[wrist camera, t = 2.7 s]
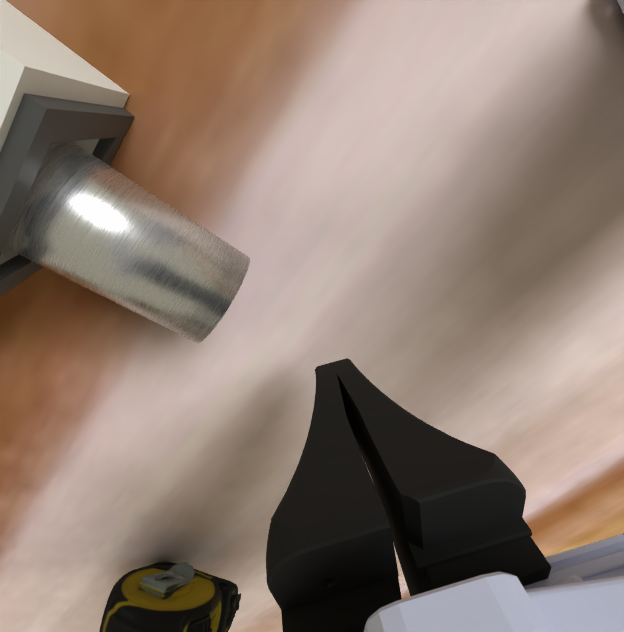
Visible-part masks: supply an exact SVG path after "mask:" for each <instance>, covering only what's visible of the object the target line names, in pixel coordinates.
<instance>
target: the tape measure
mask: <svg viewBox="0 0 624 632" xmlns="http://www.w3.org/2000/svg"><path fill="white" fill-rule="evenodd" d="M240 599H241V593H240V594H239V595H238V587H237V585H236V584H234V583H232V582H231V581H228V580H225V579H222V578H218V577H215V576H212V575H209V574H207V573H204V572H202V571H199V570H196V569H193V567H192V566H191V565H189V564H188V563H179V564H176V563H170V562H161V563H155V564H152V565H149V566H146V567H142V568H139V569H135V570H132V571H130V572H128V573H127V574H125V575H124V576H123V577H122V578H121V579H119V581H118V582H117V583H116V584H115V585H114V587H113V589H112V591H111V593H110V596H109V598H108V601H107V604H106V608H105V611H104V614H103V618H102V622H101V627H100V632H228V630H229V629H230V627H231V624H232V621H233V618H234V617H235V613H236V611H237V610H238V609H239V601H240Z"/></svg>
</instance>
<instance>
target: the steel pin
mask: <svg viewBox="0 0 624 632" xmlns="http://www.w3.org/2000/svg"><path fill="white" fill-rule="evenodd" d="M5 248H7V249H9V250H11V251H13V252H15V253H17V254H19V255H21V256H23V257H25V258H27V259H29V260H31V261H33V262H35V263H37V264H39V265H41V266H43V267H45V268H47V269H49V270H51V271H53V272H55V273H57V274H59V275H61V276H63V277H65V278H67V279H69V280H71V281H73V282H75V283H77V284H79V285H81V286H83V287H85V288H87V289H89V290H91V291H93V292H95V293H97V294H99V295H101V296H103V297H105V298H107V299H109V300H111V301H113V302H115V303H117V304H119V305H121V306H123V307H125V308H127V309H129V310H131V311H133V312H135V313H138V314H140V315H142V316H144V317H146V318H148V319H150V320H152V321H154V322H156V323H158V324H160V325H162V326H164V327H166V328H168V329H170V330H172V331H174V332H176V333H178V334H180V335H182V336H184V337H186V338H188V339H190V340H192V341H194V342H196V343H200V342H201V341H203V340H204V339H205V338H206V337H207V336H208V335H209V334H210V333H211V331H212V330H213V329H214V328H215V326H216V325H217V324H218V322H219V321H220V320H221V318H222V317H223V315H224V314H225V312H226V311H227V309H228V307H229V306H230V304H231V302H232V301H233V299H234V297H235V295H236V294H237V292H238V290H239V288H240V286H241V284H242V282H243V280H244V277H245V275H246V272H247V270H248V266H249V261H250V259H249V257H248V256H247V255H245V254H244V253H242V252H240V251H239V250H237V249H236V248H234V247H233V246H231V245H230V244H228V243H227V242H225V241H224V240H222V239H221V238H219V237H218V236H216V235H215V234H213V233H211V232H210V231H208V230H207V229H205V228H204V227H202V226H201V225H199V224H198V223H196V222H195V221H193V220H192V219H190V218H189V217H187V216H185V215H184V214H182V213H181V212H179V211H178V210H176V209H175V208H173V207H172V206H170V205H169V204H167V203H166V202H164V201H163V200H161V199H160V198H158V197H156V196H155V195H153V194H152V193H150V192H149V191H147V190H146V189H144V188H143V187H141V186H140V185H138V184H137V183H135V182H134V181H132V180H131V179H129V178H127V177H126V176H124V175H123V174H121V173H120V172H118V171H117V170H115V169H114V168H112V167H111V166H109V165H108V164H106V163H105V162H103V161H101V160H100V159H98V158H97V157H95V156H94V155H92V154H91V153H89V152H88V151H86V150H85V149H83V148H82V147H80V146H79V145H77V144H76V143H74V142H72V141H67V142H54V143H51V144H50V146H49V148H48V151H47V153H46V155H45V157H44V160H43V162H42V164H41V166H40V168H39V171H38V173H37V175H36V177H35V180H34V182H33V184H32V186H31V189H30V191H29V193H28V195H27V198H26V200H25V202H24V204H23V206H22V209H21V211H20V213H19V215H18V218H17V220H16V222H15V224H14V227H13V229H12V231H11V233H10V236H9V238H8V240H7V242H6V244H5Z"/></svg>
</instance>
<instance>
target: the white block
mask: <svg viewBox="0 0 624 632" xmlns="http://www.w3.org/2000/svg"><path fill="white" fill-rule="evenodd" d="M129 95H130V94H128V93H127V92H126V91H125V90H123V89H122V88H121V87H119V86H118V85H117V84H115V83H114V82H113V81H111V80H110V79H109V78H107V77H106V76H105V75H103V74H102V73H101V72H99V71H98V70H97V69H95V68H94V67H93V66H91V65H90V64H89V63H87V62H86V61H85V60H84V59H82V58H81V57H80V56H78V55H77V54H76V53H74V52H73V51H72V50H70V49H69V48H68V47H66V46H65V45H64V44H62V43H61V42H60V41H58V40H57V39H56V38H54V37H53V36H52V35H50V34H49V33H48V32H47V31H45V30H44V29H43V28H41V27H40V26H39V25H37V24H36V23H35V22H33V21H32V20H31V19H29V18H28V17H27V16H25V15H24V14H23V13H21V12H20V11H19V10H17V9H16V8H15V7H13V6H12V5H11V4H9V3H8V2H7V1H6V0H0V296H2V295H3V294H5V293H6V292H8V291H9V290H10V289H12V288H13V287H15V286H16V285H18V284H19V283H21V282H22V281H24V280H25V279H27V278H28V277H29V276H31V275H32V274H34V273H35V272H37V271H38V270H40V269H41V268H43V266H41V265H39V264H37V263H35V262H33V261H31V260H29V259H27V258H25V257H23V256H21V255H19V254H17V253H15V252H13V251H11V250H9V249H7V248H5V244H6V242H7V240H8V238H9V236H10V233H11V231H12V229H13V227H14V224H15V222H16V220H17V218H18V215H19V213H20V211H21V209H22V206H23V204H24V202H25V200H26V198H27V195H28V193H29V191H30V189H31V186H32V184H33V182H34V180H35V177H36V175H37V173H38V171H39V168H40V166H41V164H42V162H43V160H44V157H45V155H46V153H47V151H48V148H49V146H50V144H51V143H54V142H67V141H72V142H74V143H76V144H77V145H79V146H80V147H82V148H83V149H85V150H86V151H88V152H89V153H91V154H92V155H94V156H95V157H97V158H98V159H100V160H101V161H103V162H105V163H106V164H108V165H110V163H111V161H112V159H113V157H114V155H115V153H116V152H117V150H118V148H119V146H120V144H121V142H122V140H123V138H124V136H125V134H126V132H127V130H128V128H129V126H130V124H131V122H132V120H133V119H134V117H135V116H133V115H132V114H131V113H129V112H128V111H127V110H125V109H124V108H123V107H124V105H125V103H126V101H127V99H128V97H129Z"/></svg>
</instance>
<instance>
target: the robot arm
mask: <svg viewBox="0 0 624 632" xmlns="http://www.w3.org/2000/svg"><path fill="white" fill-rule="evenodd" d="M617 1H618V3H619V6H620V8H621V10H622V12H623V14H624V0H617ZM315 373H316V394H315V403H314V410H313V415H312V420H311V425H310V429H309V433H308V437H307V440H306V443H305V447H304V450H303V452H302V455H301V458H300V461H299V464H298V466H297V469H296V471H295V473H294V475H293V478H292V480H291V482H290V484H289V487H288V489H287V491H286V493H285V495H284V497H283V499H282V500H281V502H280V504H279V506H278V508H277V510H276V511H275V513H274V515H273V517H272V519H271V524H270V529H269V535H268V541H267V552H266V572H267V584H268V588H269V590H270V592H271V593H272V595H273V597H274V598H275V600H276V602H277V603H278V605H279V607H280V608H281V611H282V625H283V632H624V533H623V534H620V535H617V536H614V537H610V538H607V539H604V540H601V541H597V542H594V543H591V544H587V545H584V546H581V547H578V548H574V549H571V550H568V551H565V552H561V553H558V554H555V555H551V556H548V557H544V555H543V554H542V553H541V551H540V550H539V548H538V547H537V545H536V544H535V542H534V541H533V540H532V538H531V537H530V536H532V532H531V529H530V528H529V527H528V525H527V524H526V522H525V521H524V520H523V518H522V515H523V510H524V504H525V499H526V490H525V488H524V487H523V485H522V483H521V482H520V481H519V479H518V478H517V477H516V476H515V474H514V473H513V472H512V471H511V470H510V469H509V468H508V467H507V466H506V465H505V464H504V463H503V462H502V461H501V460H500V459H499V458H498V457H497V456H496V455H495V454H494V453H491V452H488V451H486V450H483V449H480V448H478V447H475V446H472V445H470V444H467V443H465V442H462V441H460V440H458V439H456V438H454V437H451V436H449V435H447V434H446V433H444V432H442V431H440V430H438V429H436V428H434V427H432V426H430V425H428V424H427V423H425V422H423V421H422V420H420V419H418V418H417V417H415V416H414V415H412V414H411V413H409V412H407V411H406V410H404V409H403V408H402V407H400V406H399V405H398V404H396V403H395V402H394V401H392V400H391V399H390V398H388V397H387V396H386V395H385V394H384V393H382V392H381V391H380V390H379V389H378V388H377V387H376V386H374V385H373V384H372V383H371V382H370V381H369V380H368V379H367V378H366V377H365V376H364V375H363V374H362V373H361V372H360V371H359V370H358V369H357V368H356V367H355V365H354V364H353V363H352V362H351V360H349V359H343V360H339V361H336V362H332V363H328V364H325V365H321V366H317V367H316V369H315ZM361 454H362V455H361ZM363 459H364V460H363ZM364 461H365V462H364ZM365 463H366V465H365ZM366 466H367V467H366ZM367 468H368V470H369V472H368V470H367ZM369 473H370V474H369ZM370 475H371V477H370ZM371 478H372V479H371ZM372 480H373V481H372ZM373 483H374V484H373ZM393 543H394V545H393ZM394 546H395V549H396V552H397V555H398V558H399V561H400V564H401V567H402V571H403V574H404V577H405V580H406V583H407V586H408V589H409V593H410V596H411V597H407V598H404V599H402V598H401V592H400V586H399V581H398V576H399V575H398V569H397V563H396V557H395V551H394Z"/></svg>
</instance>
